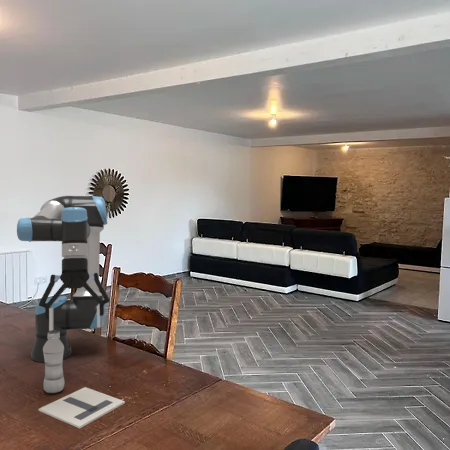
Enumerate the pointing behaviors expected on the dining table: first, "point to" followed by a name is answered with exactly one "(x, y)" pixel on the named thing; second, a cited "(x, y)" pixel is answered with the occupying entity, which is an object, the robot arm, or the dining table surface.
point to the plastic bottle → (53, 363)
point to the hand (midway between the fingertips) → (75, 328)
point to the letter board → (81, 407)
